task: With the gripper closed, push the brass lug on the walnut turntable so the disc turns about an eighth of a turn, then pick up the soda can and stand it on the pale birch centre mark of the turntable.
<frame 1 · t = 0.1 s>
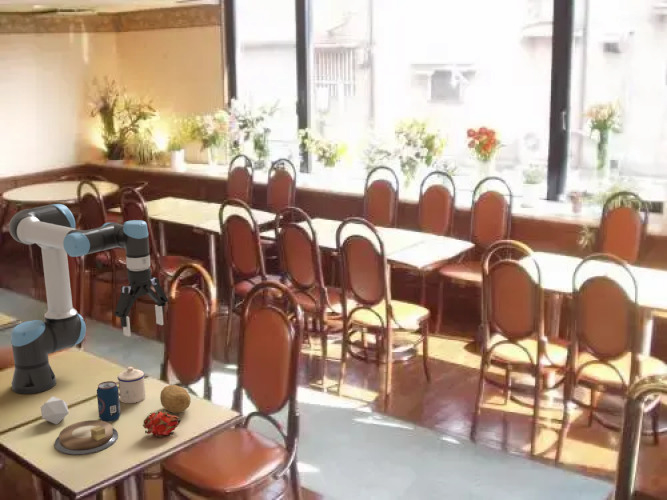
hand: (143, 329, 269), 28 cm above the table, tool pointing down, fingers open, 13 cm apart
turntable: (85, 430, 253), point 3 cm above the table, hinge at 0.0°
potato: (175, 410, 273), on the table
turntable base: (86, 440, 253), on the table
dragon fruit: (162, 434, 257), on the table
soda can: (110, 418, 268), on the table
teacup with lid: (128, 400, 282), on the table
die: (55, 421, 267), on the table
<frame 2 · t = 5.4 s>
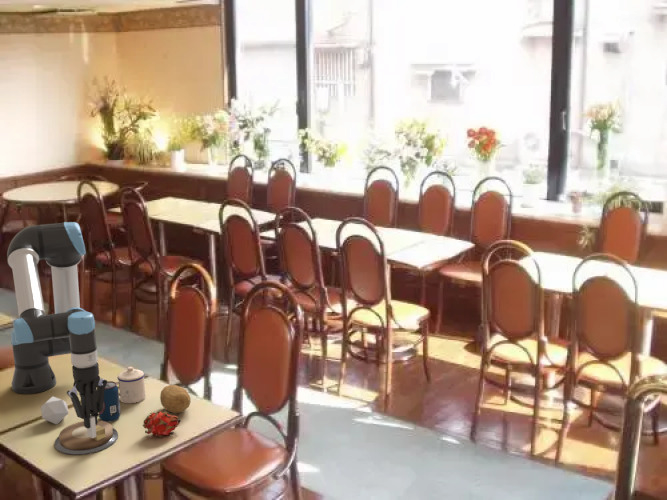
hand: (92, 436, 247), 4 cm above the table, tool pointing down, fingers closed
turntable: (85, 430, 253), point 3 cm above the table, hinge at 0.1°, touching gripper
everything else where it was.
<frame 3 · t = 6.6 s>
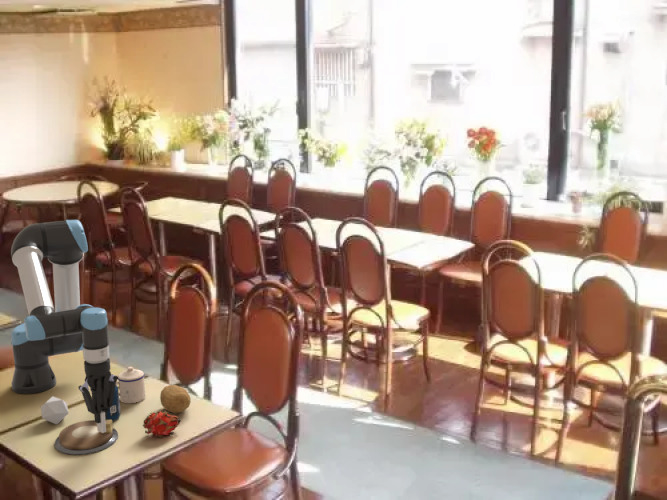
hand: (101, 431, 250), 4 cm above the table, tool pointing down, fingers closed
turntable: (85, 430, 253), point 3 cm above the table, hinge at 42.1°, touching gripper
everything else where it was.
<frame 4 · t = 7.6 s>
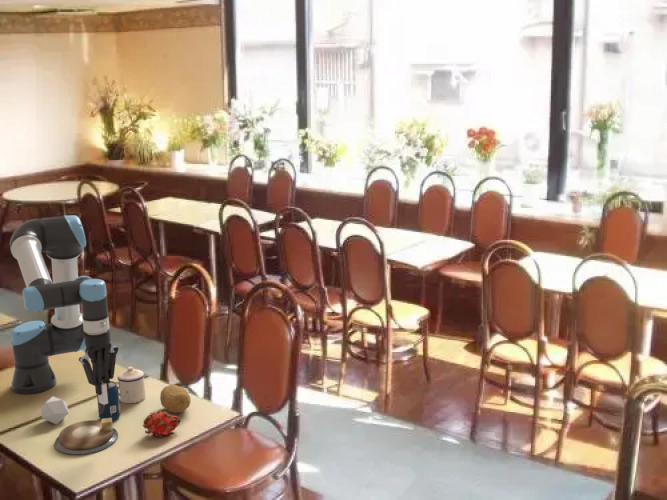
hand: (103, 402, 249), 13 cm above the table, tool pointing down, fingers closed
turntable: (85, 430, 253), point 3 cm above the table, hinge at 52.3°
everything else where it was.
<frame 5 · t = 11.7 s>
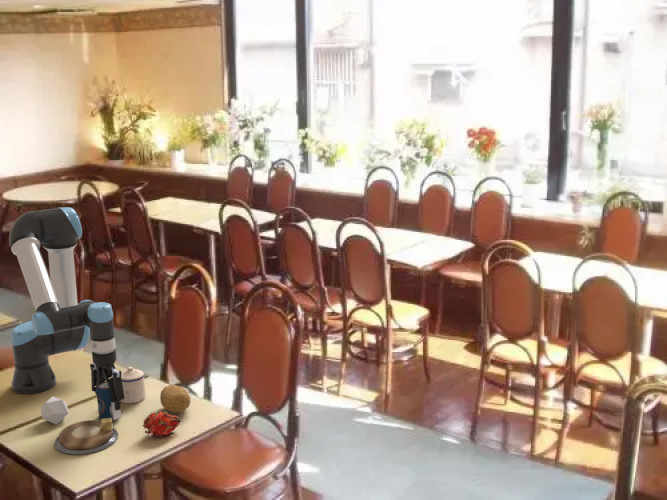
hand: (109, 415, 268), 1 cm above the table, tool pointing down, fingers closed on soda can, 7 cm apart
soda can: (110, 418, 268), on the table, touching gripper
everything else where it was.
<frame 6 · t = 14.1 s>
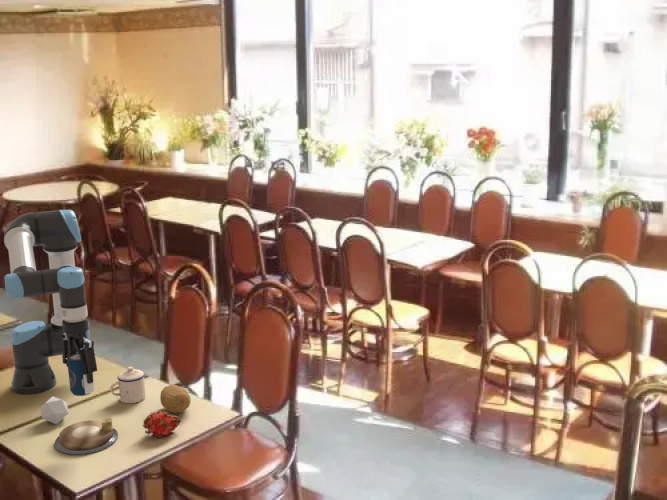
hand: (82, 389, 249), 17 cm above the table, tool pointing down, fingers closed on soda can, 7 cm apart
soda can: (82, 393, 250), point 16 cm above the table, touching gripper
everything else where it was.
when the fingers open (5 cm above the table, at t = 16.6 s): soda can drops 1 cm, resting on turntable.
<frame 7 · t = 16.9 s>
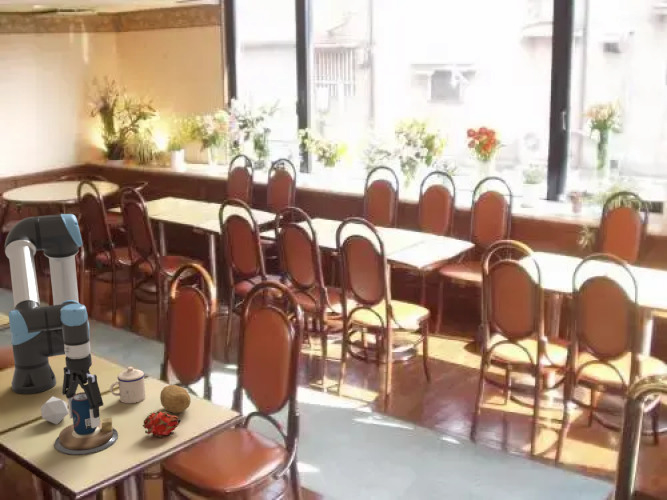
hand: (84, 421, 252), 6 cm above the table, tool pointing down, fingers open, 10 cm apart
turntable: (85, 430, 253), point 3 cm above the table, hinge at 52.3°, touching soda can
soda can: (85, 432, 253), point 3 cm above the table, touching turntable
everything else where it was.
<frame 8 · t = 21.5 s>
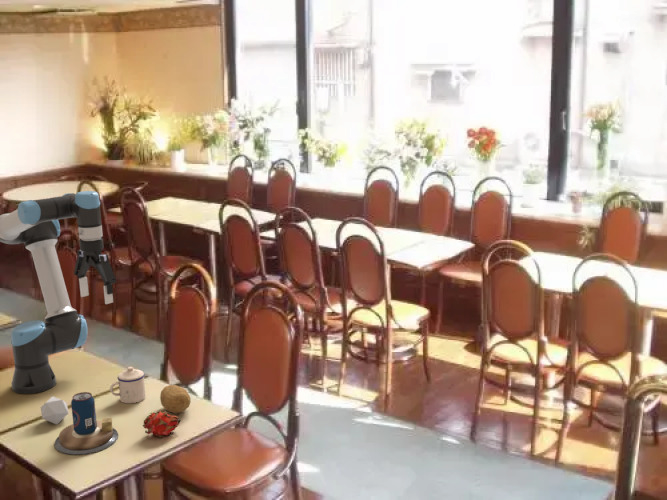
hand: (96, 299, 273), 37 cm above the table, tool pointing down, fingers open, 13 cm apart
nothing on the table moved.
at the end: turntable at +52° (first picture: +0°); soda can 0.1 cm from the turntable (horizontally); soda can tilted 0° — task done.
